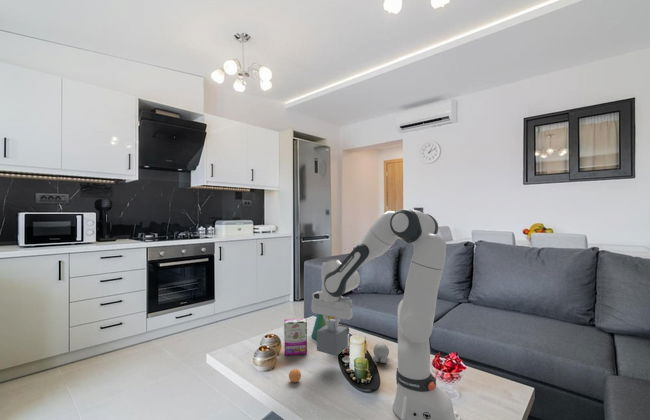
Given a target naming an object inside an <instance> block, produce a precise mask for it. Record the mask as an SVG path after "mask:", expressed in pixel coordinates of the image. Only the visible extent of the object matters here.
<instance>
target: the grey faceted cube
mask: <svg viewBox="0 0 650 420" xmlns="http://www.w3.org/2000/svg"><path fill="white" fill-rule="evenodd" d="M336 321H337V320H336V319H335V320H334V319H330V320H328V321H327V325H325V326H324V327H322V328H320V329H319V330H317V341H316V352H320V353H324V354H328V355H332V356H336V357H337V356H339V354H340V353H341V352H342V351H343V350H345V349H346V348H347V347H348V332H347V327H342V326H338V327H334V323H335V322H336Z"/></svg>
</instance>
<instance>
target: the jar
mask: <svg viewBox="0 0 650 420" xmlns="http://www.w3.org/2000/svg"><path fill="white" fill-rule="evenodd" d="M339 326H342V327H347V332H348V346H349V347H350V327H349V326H348V325H347V324H339Z"/></svg>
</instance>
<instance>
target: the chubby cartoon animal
mask: <svg viewBox="0 0 650 420" xmlns="http://www.w3.org/2000/svg"><path fill="white" fill-rule="evenodd" d="M372 349H373V354H374V355H373V356H372V361H373V362H376V363H378V362H380V363H384V364H387V363H388V360H387V359H388V356H389V355H390V348H389V347H388V345H387V344H386V343H384V342H377V343H376V344H375V345H374V346H373V348H372Z"/></svg>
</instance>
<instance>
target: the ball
mask: <svg viewBox="0 0 650 420" xmlns="http://www.w3.org/2000/svg"><path fill="white" fill-rule="evenodd" d="M301 377H302V373H301V371H300V370H299V369H298V368H293V369H291V370H290V372H289V373H288V379H289V380H290V382H291V383H298V382H299V381H300V380H301Z"/></svg>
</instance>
